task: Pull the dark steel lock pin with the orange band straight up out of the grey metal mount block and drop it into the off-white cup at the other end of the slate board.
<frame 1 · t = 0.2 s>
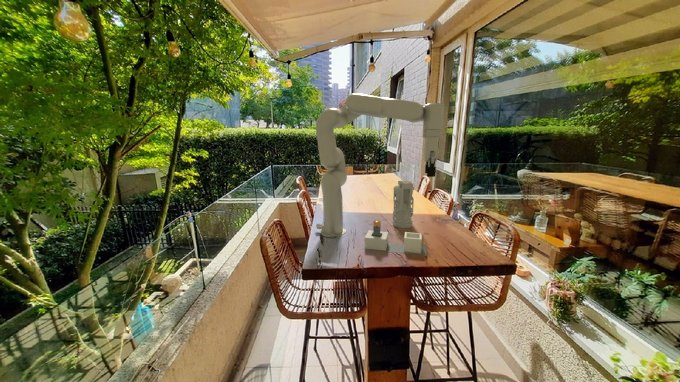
hand: (429, 174, 115), 31 cm above the table, tool pointing down, fingers open, 9 cm apart
lock pin: (376, 245, 116), point 1 cm above the table, touching dock board
lantern: (402, 226, 142), on the table
dock board: (394, 249, 114), on the table
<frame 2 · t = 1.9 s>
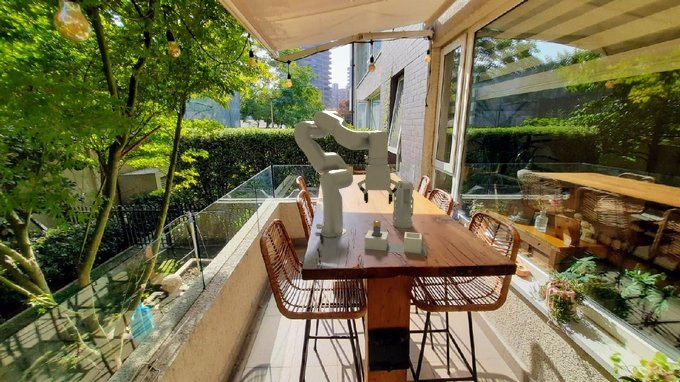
hand: (378, 203, 111), 20 cm above the table, tool pointing down, fingers open, 9 cm apart
nothing on the table moved.
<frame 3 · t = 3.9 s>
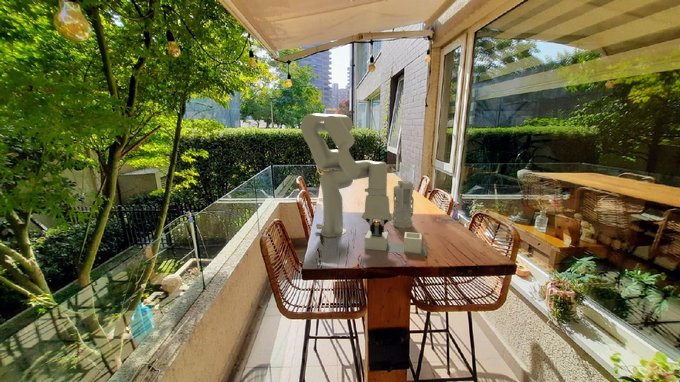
hand: (376, 233, 114), 7 cm above the table, tool pointing down, fingers closed on lock pin, 3 cm apart
lock pin: (376, 245, 116), point 1 cm above the table, touching dock board, gripper
everything else where it was.
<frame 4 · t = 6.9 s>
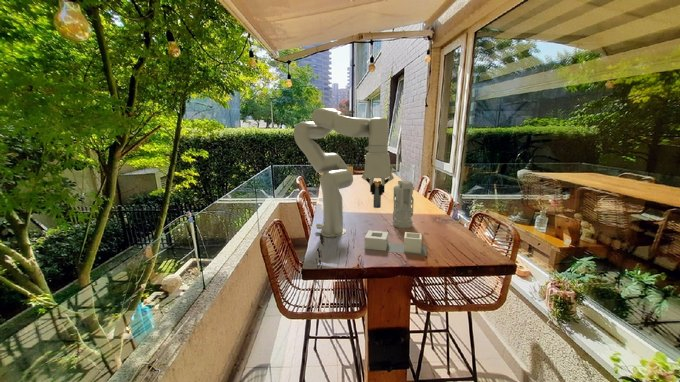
hand: (377, 193, 111), 24 cm above the table, tool pointing down, fingers closed on lock pin, 3 cm apart
lock pin: (377, 207, 112), point 18 cm above the table, touching gripper
everything else where it was.
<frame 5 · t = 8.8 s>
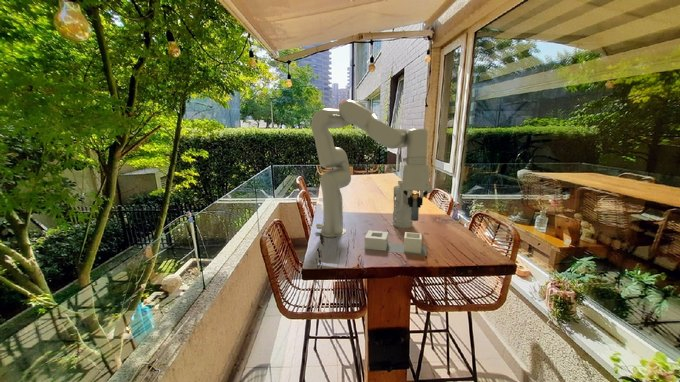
hand: (414, 206, 107), 20 cm above the table, tool pointing down, fingers closed on lock pin, 3 cm apart
lock pin: (414, 219, 109), point 14 cm above the table, touching gripper
everything else where it was.
when the fingers open (15 cm above the table, at t = 10.1 s): lock pin drops 8 cm, resting on dock board.
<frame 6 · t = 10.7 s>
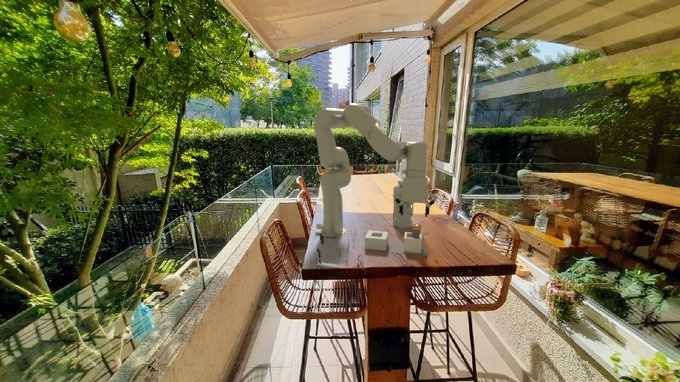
hand: (413, 215, 108), 16 cm above the table, tool pointing down, fingers open, 9 cm apart
lock pin: (412, 248, 111), point 1 cm above the table, tilted 12°, touching dock board
everything else where it was.
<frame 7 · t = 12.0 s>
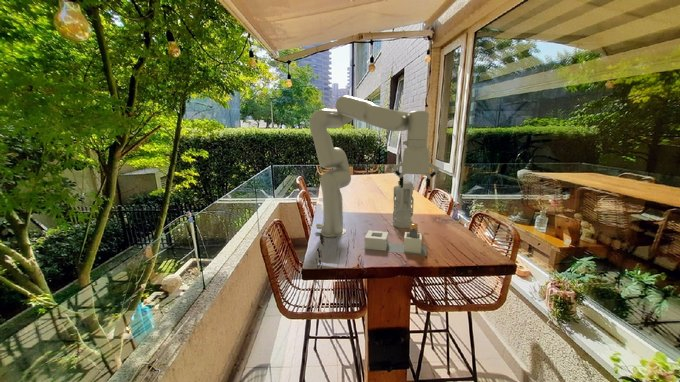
hand: (414, 187, 106), 27 cm above the table, tool pointing down, fingers open, 9 cm apart
lock pin: (412, 248, 111), point 1 cm above the table, touching dock board
everything else where it was.
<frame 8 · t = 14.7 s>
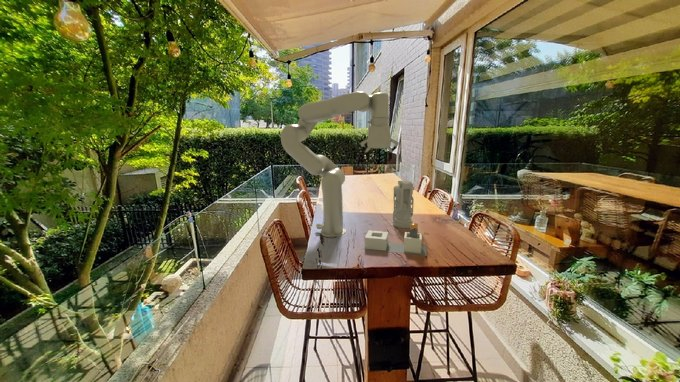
hand: (378, 161, 122), 36 cm above the table, tool pointing down, fingers open, 9 cm apart
nothing on the table moved.
at the end: lock pin 0.1 cm from the target spot on the dock board, point 1.0 cm above the dock board's base; the gripper is holding nothing; lock pin tilted 1° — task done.
